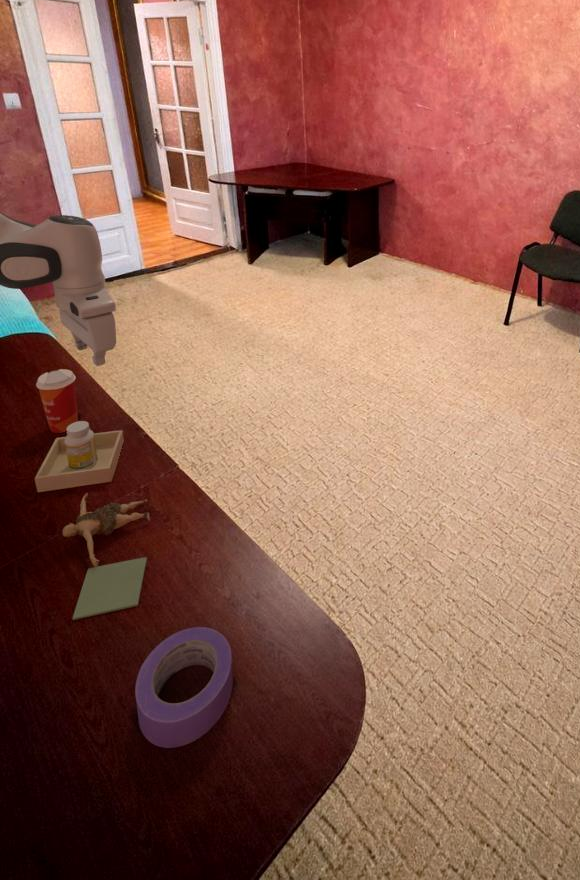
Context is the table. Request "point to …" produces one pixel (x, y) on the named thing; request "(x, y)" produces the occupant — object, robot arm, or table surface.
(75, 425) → the supplement bottle
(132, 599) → the mat
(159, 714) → the tape roll
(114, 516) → the figurine
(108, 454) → the tray
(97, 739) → the table surface
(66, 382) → the paper cup
